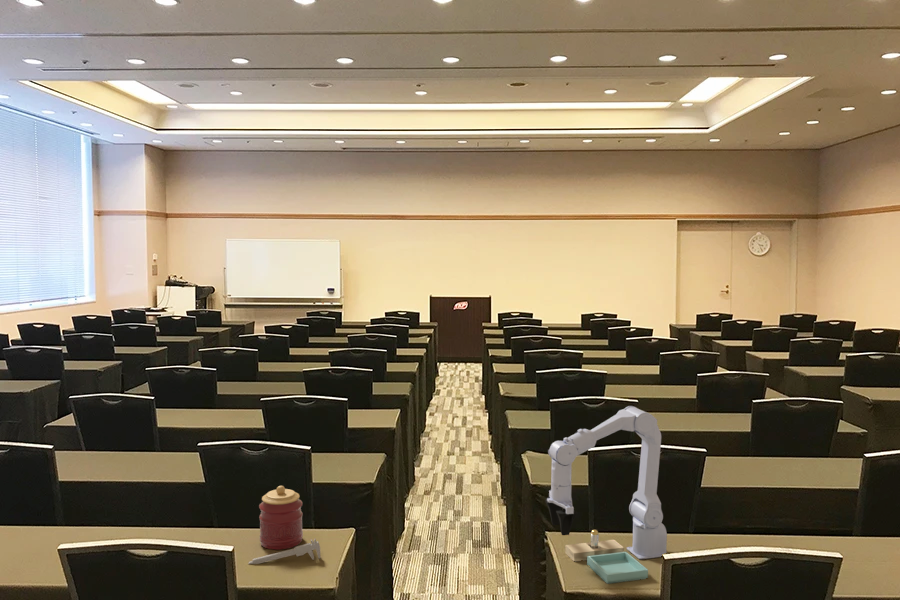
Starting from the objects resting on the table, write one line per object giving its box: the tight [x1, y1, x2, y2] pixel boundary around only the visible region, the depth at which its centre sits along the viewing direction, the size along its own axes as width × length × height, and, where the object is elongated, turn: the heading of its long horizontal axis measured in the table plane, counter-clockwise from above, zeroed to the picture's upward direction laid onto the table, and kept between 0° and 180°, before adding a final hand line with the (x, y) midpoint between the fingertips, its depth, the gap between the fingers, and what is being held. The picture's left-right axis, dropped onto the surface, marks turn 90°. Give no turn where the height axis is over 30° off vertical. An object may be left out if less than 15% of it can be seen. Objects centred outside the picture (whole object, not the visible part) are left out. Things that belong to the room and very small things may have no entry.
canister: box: [258, 485, 304, 550], centre depth 230 cm, size 13×13×18 cm
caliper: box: [248, 538, 321, 565], centre depth 217 cm, size 21×1×6 cm, turn 101°
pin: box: [590, 529, 600, 549], centre depth 222 cm, size 2×2×8 cm
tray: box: [586, 551, 649, 585], centre depth 211 cm, size 12×12×2 cm
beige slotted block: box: [564, 539, 625, 562], centre depth 222 cm, size 16×6×2 cm, turn 106°
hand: (560, 529), depth 216 cm, fingers open, 7 cm apart
